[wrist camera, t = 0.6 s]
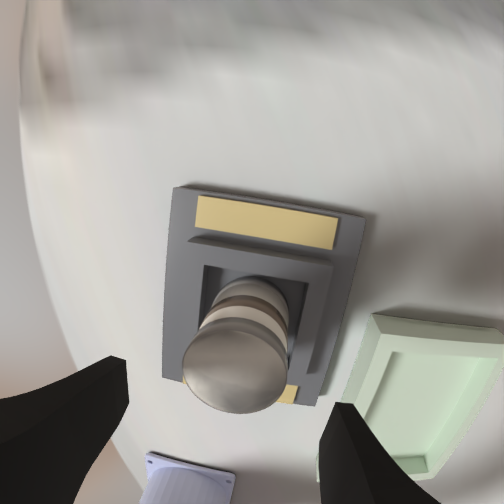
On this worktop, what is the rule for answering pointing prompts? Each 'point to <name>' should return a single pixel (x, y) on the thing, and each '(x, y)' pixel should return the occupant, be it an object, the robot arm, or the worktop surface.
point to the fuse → (240, 348)
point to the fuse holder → (260, 274)
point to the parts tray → (422, 387)
